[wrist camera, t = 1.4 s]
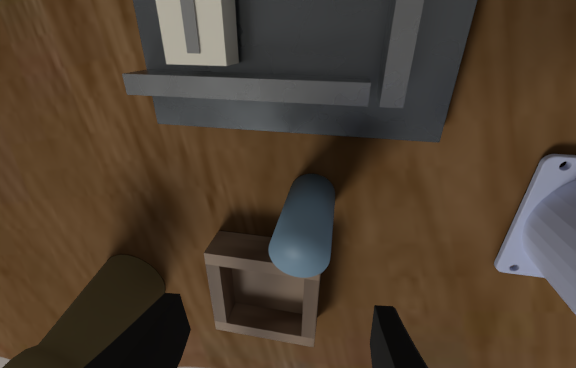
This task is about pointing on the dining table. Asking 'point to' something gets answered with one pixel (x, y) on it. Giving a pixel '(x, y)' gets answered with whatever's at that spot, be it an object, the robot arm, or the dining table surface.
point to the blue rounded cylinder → (305, 228)
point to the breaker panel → (317, 69)
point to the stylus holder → (259, 291)
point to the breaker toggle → (198, 32)
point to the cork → (96, 315)
